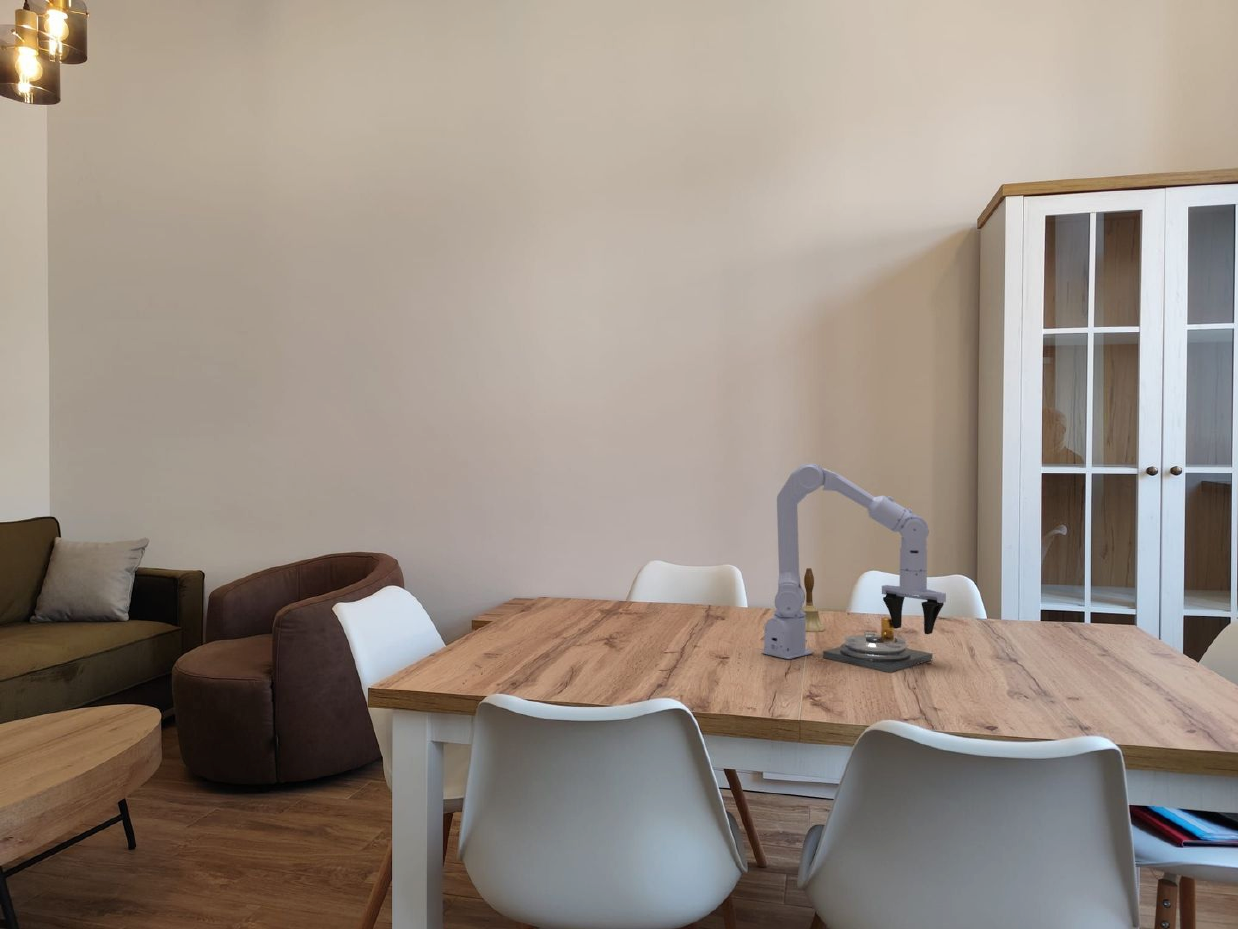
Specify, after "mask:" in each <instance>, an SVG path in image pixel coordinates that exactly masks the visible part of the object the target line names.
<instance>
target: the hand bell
mask: <svg viewBox="0 0 1238 929" xmlns="http://www.w3.org/2000/svg"><path fill="white" fill-rule="evenodd" d="M805 570H806V571H805V573H804V578H803V583H804V584H803V585H804V589H805V605H804V606H802V610H803V611H804V612H805V613H806V633H820V632H824V631H826V627H825V626H824V625H823V623H822V621H821V619H820V614H819V609H818V608H817V607H816V606H814V603H813V590H814V586H815V577H814V574H813V570H812V568H808V567H807V568H806V569H805Z"/></svg>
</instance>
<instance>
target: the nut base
mask: <svg viewBox="0 0 1238 929" xmlns="http://www.w3.org/2000/svg"><path fill="white" fill-rule="evenodd" d="M822 654H823V655H822V658H823V659H827V660H832V661H836V662H841V663H845V662H847V663H846V664H849V663H851V664H850V665H853V664H855V666H858V667H862V668H863V667H864V668H867V669H871V670H876V669H877V671H880V670H881V671H880V672H884V671H885V672H884V673H889V672H890V673H889V674H891V673H893V671H895V672H897V671H896V670H898V671H900V670H899V669H901V670H905V669H907V667H908V668H911V667H914V666H913V665H915V666H917V665H916V664H918V663H921V662H925V663H927V662H926V661H928V662H930V661H929V660H931V659H932V660H933V653H931V652H926V651H921V650H916V649H911V648H908V647H906V650H905V651H904V652H901V653H896V654H872V653H864V652H858V651H854V650H851V649H848V648H847V647H845V642H844V643H842V644H840V646H838V647H833V648H830V649H826V650H823V651H822ZM921 664H922V663H921ZM918 665H919V664H918ZM910 666H911V667H910ZM904 668H905V669H904Z"/></svg>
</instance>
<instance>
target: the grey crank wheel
mask: <svg viewBox="0 0 1238 929" xmlns="http://www.w3.org/2000/svg"><path fill="white" fill-rule="evenodd" d="M880 619H881V620H880V626H881V627H880V635H878V634H875V632H873V631H871V632H870V631H869V632H867V631H866V632H864V634H855V635H850V636H844V643H845V647H847V648H848V649H851V650H854V651H858V652H864V653H872V654H896V653H901V652H904V651H905V650H906V648H907V646H906V644H907V643H906V641H907V640H906V639H905V638H904V637H895V628H893V624H892V620H891V617H888V616H887V617H881V618H880Z"/></svg>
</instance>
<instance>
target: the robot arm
mask: <svg viewBox="0 0 1238 929" xmlns="http://www.w3.org/2000/svg"><path fill="white" fill-rule="evenodd" d="M822 486H823V488H822V490H823V491H828V492H829V491H830V492H837V493H839V494H841V495H842V496H845V497H846V498H848V499H850V500H851V501H853V502H854V503H857V504H858V505H860V506H862V507H864V508H865V509H867V512H868V516H869V518H870V519H872V520H874V521H875V522H876V523H877V522H878V523H879V524H880V525H883V526H884V527H885V528H887V529H889V530H891V531H892V532H895V533H896V532H898V533H899V534H900V536H901V539H900V540H901V541H900V544H901V545H900V548H899V585H888V584H885V585H881V595H883V597H882V600H883V603H884V604H885V605H886V609H887V611H888V613H889V616H890V618H891V620H892V624H893V628H894V630H895V629H899V628H901V627H902V620H903V617H902V615H903V613H902V611H903V607H904V606H903V605H904V602H905V601H904V600H905V598H909V599H910V598H911V599H917V600H924V601H923V602H921V607H922V612H923V613H922V614H923V632H924V635H930V634H933V631H934V627H935V624H936V621H937V618H938V616H939V614H940V612H941V611H942V608H943V607H944V603H946V602H947V593H945V592H941V591H937V590H931V589H928V587H927V586H928V572H927V571H928V549H927V545H928V542H927V538H928V536H929V533H930V529H929V526H928V524H927V522H926V521H925V520H924V519H923V517H921V516H920V515H919V514H916V513H914V510H913V509H912V508H908V509H907V508H906V507H903V506H902V505H900V504H899V503H897V502H895V501H894V500H895V498H894V497H892V496H890V495H889V496H887V497H886V495H879V496H873V495H872V494H871V493H869V492H867V491H866V490H864V489H863V488H861V487H859V485H858V486H857V485H856V484H855V483H854V482H852V481H850V480H848V479H847V478H845V477H844V476H842V475H840V474H839V473H836V472H834V471H832V470H829V469H828V468H825V467H824V468H822V467H821V466H820V465H818V464H816V463H812V462H811V463H804V464H801V465H800V466H799V467H798V468H797V469H795V470H794V471H792V472H791V474H790V475H789V477H788V479H787V480H786V481H785V483H784V485H783V486H782V488H781V489H780V491H779V492H778V494H777V495H776V513H777V514H776V517H777V518H776V519H777V548H778V551H777V553H778V582H777V585H778V586H777V587H778V588H777V592H776V595H775V596H774V601H773V602H774V607H775V608H776V609H775V610H774V611H773V616H772V617H771V618H770V619H767V621H766V622H765V624H764V634H763V635H764V636H763V637H764V638H763V640H764V644H763V645H764V646H763V648H764V650H761V654H765V655H769V656H772V657H773V656H774V657H776V658H777V657H778V658H781V659H785V660H786V659H787V660H791V659H794V658H798V657H803V656H807V655H811V654H814V650H810V649H806V644H807V643H806V641H807V640H806V634H807V632H806V613H805V612H804V611H803V610H802V607H804V606H803V605H804V602H805V601H806V592H805V591H804V589H803V587H802V585H801V573H800V554H799V553H800V552H799V551H800V548H799V521H798V520H799V518H798V512H799V511H798V505H799V503H800V502H801V501H802V500H803V499H804V498H806V496H807V495H809V494H811V493H814V492H815V491H817V490H818V489H819V488H821V487H822ZM884 595H885V596H884Z"/></svg>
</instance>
